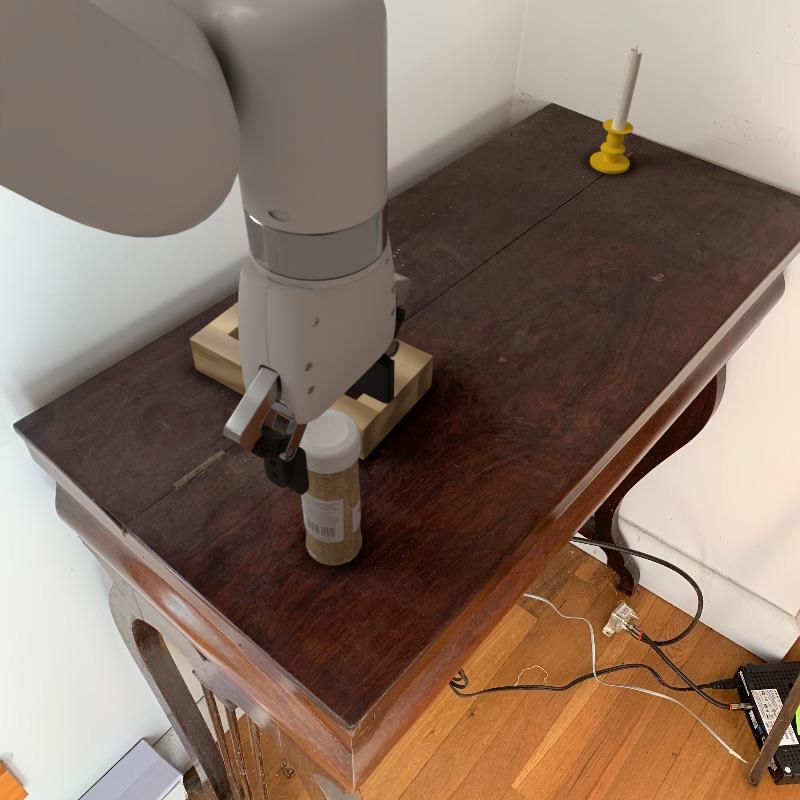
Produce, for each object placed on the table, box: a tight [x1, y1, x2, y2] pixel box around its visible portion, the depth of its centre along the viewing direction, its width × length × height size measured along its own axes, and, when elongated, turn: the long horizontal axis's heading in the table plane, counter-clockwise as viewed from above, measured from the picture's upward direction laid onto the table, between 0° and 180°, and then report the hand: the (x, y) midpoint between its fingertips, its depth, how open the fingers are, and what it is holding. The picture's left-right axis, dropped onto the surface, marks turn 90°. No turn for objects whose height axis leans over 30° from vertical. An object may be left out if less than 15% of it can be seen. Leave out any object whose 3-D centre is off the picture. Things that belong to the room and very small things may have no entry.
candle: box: [589, 45, 643, 175], centre depth 102 cm, size 5×5×16 cm
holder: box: [189, 301, 434, 461], centre depth 76 cm, size 11×20×4 cm, turn 56°
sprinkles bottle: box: [299, 410, 363, 567], centre depth 59 cm, size 5×5×13 cm
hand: (333, 436), depth 55 cm, fingers open, 9 cm apart
